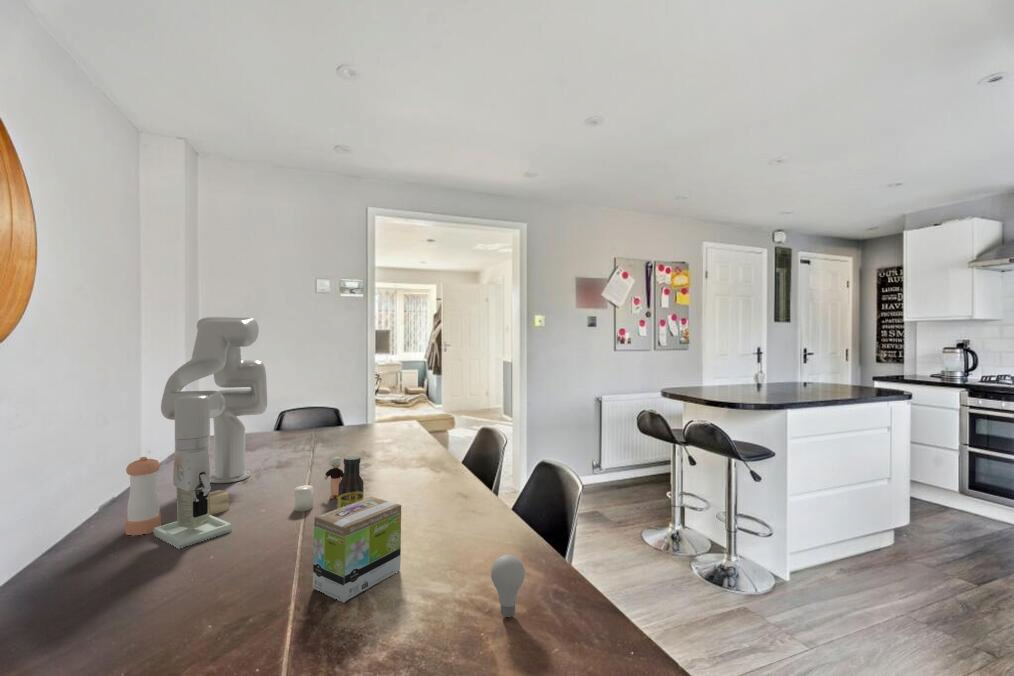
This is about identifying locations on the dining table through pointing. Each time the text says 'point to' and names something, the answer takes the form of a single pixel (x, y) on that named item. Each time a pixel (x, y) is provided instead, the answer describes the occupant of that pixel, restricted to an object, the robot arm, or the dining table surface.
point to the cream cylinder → (303, 498)
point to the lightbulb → (507, 581)
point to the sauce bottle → (350, 483)
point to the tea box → (356, 547)
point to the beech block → (218, 501)
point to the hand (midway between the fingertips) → (193, 511)
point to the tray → (191, 532)
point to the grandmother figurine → (334, 476)
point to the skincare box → (189, 510)
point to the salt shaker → (143, 497)
